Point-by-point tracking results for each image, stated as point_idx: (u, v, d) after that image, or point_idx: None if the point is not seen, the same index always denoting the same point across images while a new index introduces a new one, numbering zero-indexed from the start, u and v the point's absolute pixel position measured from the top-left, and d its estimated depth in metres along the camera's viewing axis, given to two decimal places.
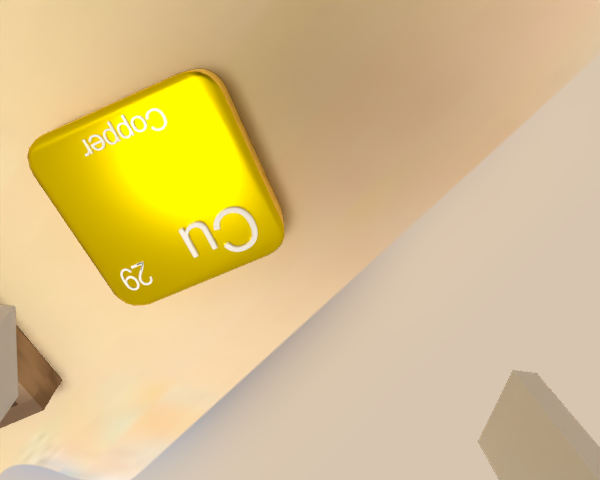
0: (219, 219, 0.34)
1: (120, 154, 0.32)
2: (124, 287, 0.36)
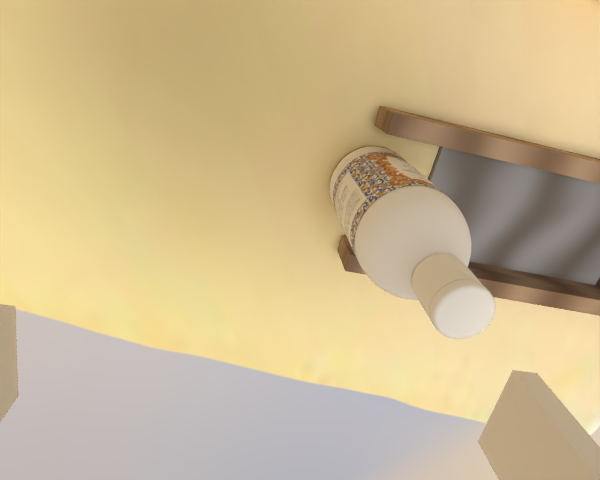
0: None
1: None
2: None
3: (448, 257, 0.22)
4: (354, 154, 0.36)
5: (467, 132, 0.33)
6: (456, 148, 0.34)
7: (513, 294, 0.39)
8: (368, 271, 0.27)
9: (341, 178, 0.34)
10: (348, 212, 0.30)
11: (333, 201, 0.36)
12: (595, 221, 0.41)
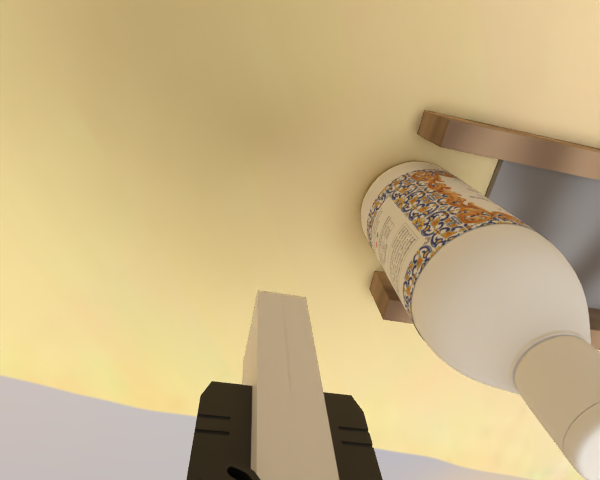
0: None
1: None
2: None
3: (578, 345, 0.14)
4: (393, 172, 0.28)
5: (544, 142, 0.25)
6: (529, 163, 0.26)
7: (592, 341, 0.31)
8: (435, 346, 0.19)
9: (379, 205, 0.26)
10: (397, 256, 0.22)
11: (367, 233, 0.28)
12: None
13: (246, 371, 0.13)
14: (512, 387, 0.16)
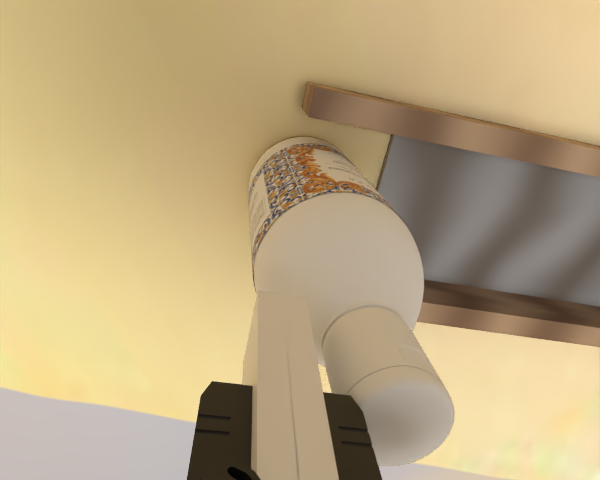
0: None
1: None
2: None
3: (377, 316, 0.13)
4: (275, 147, 0.27)
5: (420, 112, 0.24)
6: (406, 135, 0.25)
7: (494, 325, 0.30)
8: None
9: (255, 181, 0.25)
10: (252, 232, 0.21)
11: None
12: (599, 227, 0.32)
13: (246, 371, 0.13)
14: None
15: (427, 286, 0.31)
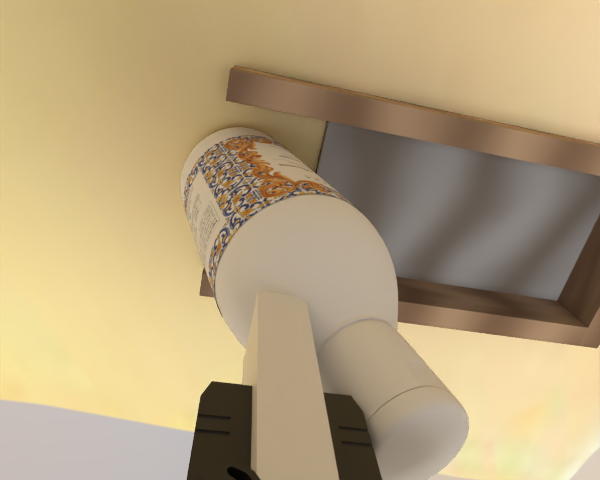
0: None
1: None
2: None
3: (374, 331, 0.13)
4: (207, 141, 0.24)
5: (344, 95, 0.23)
6: (331, 119, 0.23)
7: (439, 319, 0.29)
8: (243, 345, 0.16)
9: (191, 181, 0.23)
10: (203, 241, 0.19)
11: None
12: (550, 218, 0.31)
13: (246, 371, 0.13)
14: None
15: None
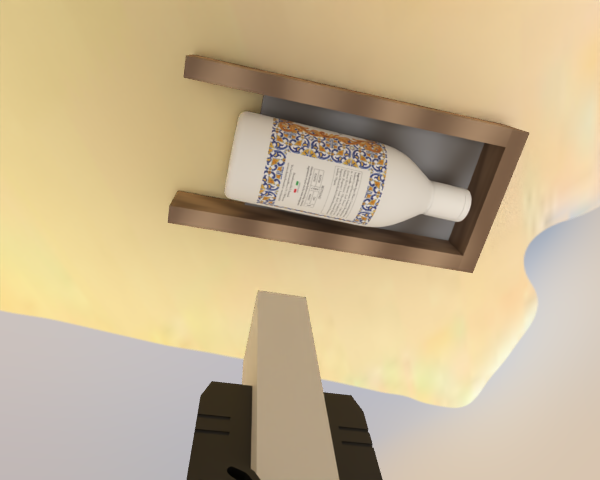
0: None
1: None
2: None
3: (439, 183, 0.37)
4: (255, 129, 0.32)
5: (266, 75, 0.33)
6: (258, 92, 0.33)
7: (348, 246, 0.39)
8: (392, 219, 0.36)
9: (281, 161, 0.32)
10: (346, 188, 0.33)
11: (264, 187, 0.33)
12: (436, 173, 0.41)
13: (246, 371, 0.13)
14: (421, 213, 0.37)
15: (300, 218, 0.40)
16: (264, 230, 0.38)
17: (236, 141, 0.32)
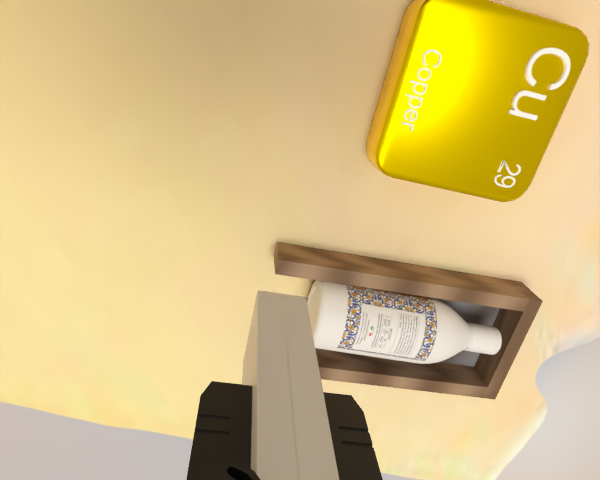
0: (530, 74, 0.36)
1: (429, 106, 0.37)
2: (505, 190, 0.40)
3: (472, 323, 0.47)
4: (335, 288, 0.42)
5: (339, 270, 0.42)
6: (332, 281, 0.43)
7: (395, 383, 0.48)
8: (445, 354, 0.43)
9: (358, 311, 0.41)
10: (409, 329, 0.42)
11: (346, 332, 0.41)
12: (465, 319, 0.50)
13: (246, 371, 0.13)
14: (465, 348, 0.46)
15: (355, 357, 0.50)
16: (329, 374, 0.47)
17: (323, 298, 0.41)
